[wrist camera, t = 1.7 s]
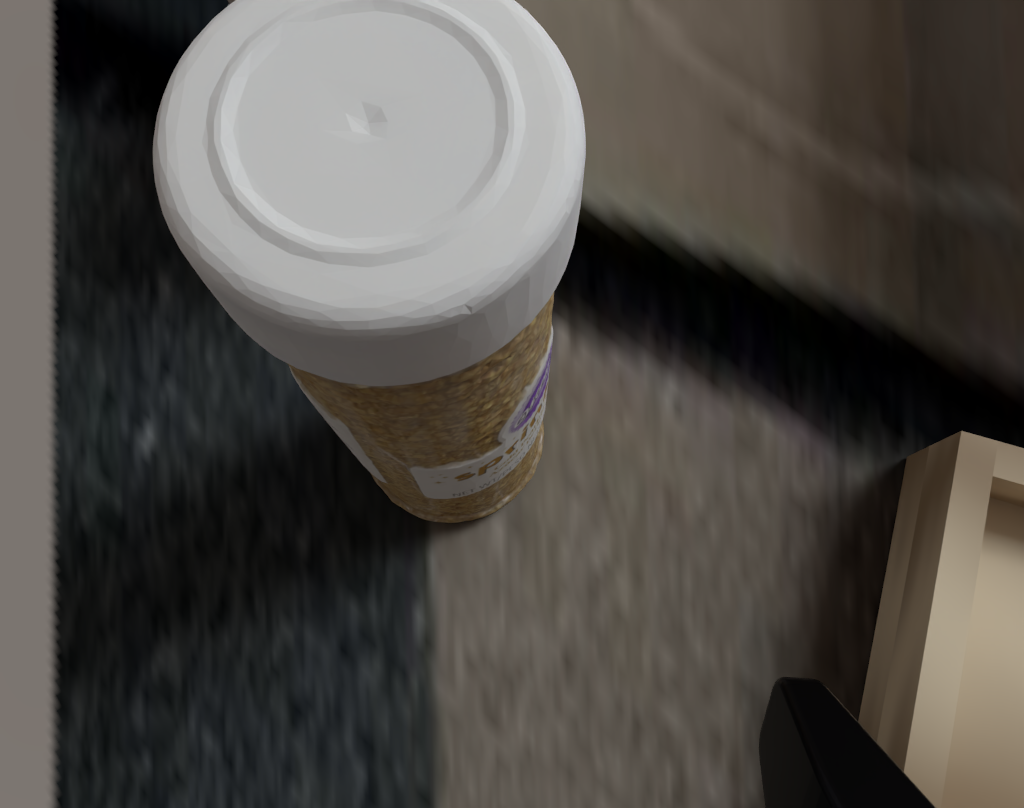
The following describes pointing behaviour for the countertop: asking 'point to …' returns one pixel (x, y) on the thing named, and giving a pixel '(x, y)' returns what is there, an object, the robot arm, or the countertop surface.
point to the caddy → (954, 627)
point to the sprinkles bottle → (387, 222)
